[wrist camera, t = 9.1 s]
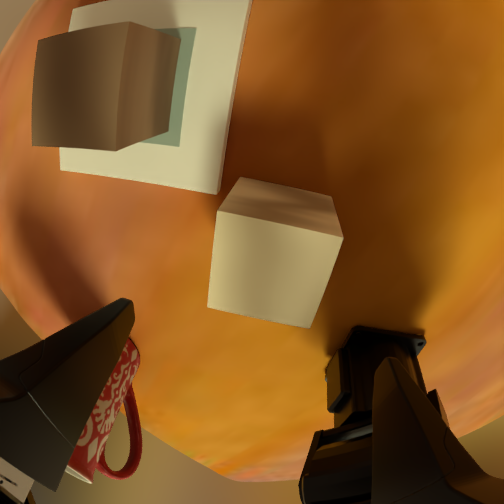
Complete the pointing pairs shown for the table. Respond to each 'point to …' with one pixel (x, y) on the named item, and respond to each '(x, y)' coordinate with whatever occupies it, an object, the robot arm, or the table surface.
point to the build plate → (177, 92)
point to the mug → (110, 423)
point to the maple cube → (273, 252)
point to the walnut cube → (103, 87)
